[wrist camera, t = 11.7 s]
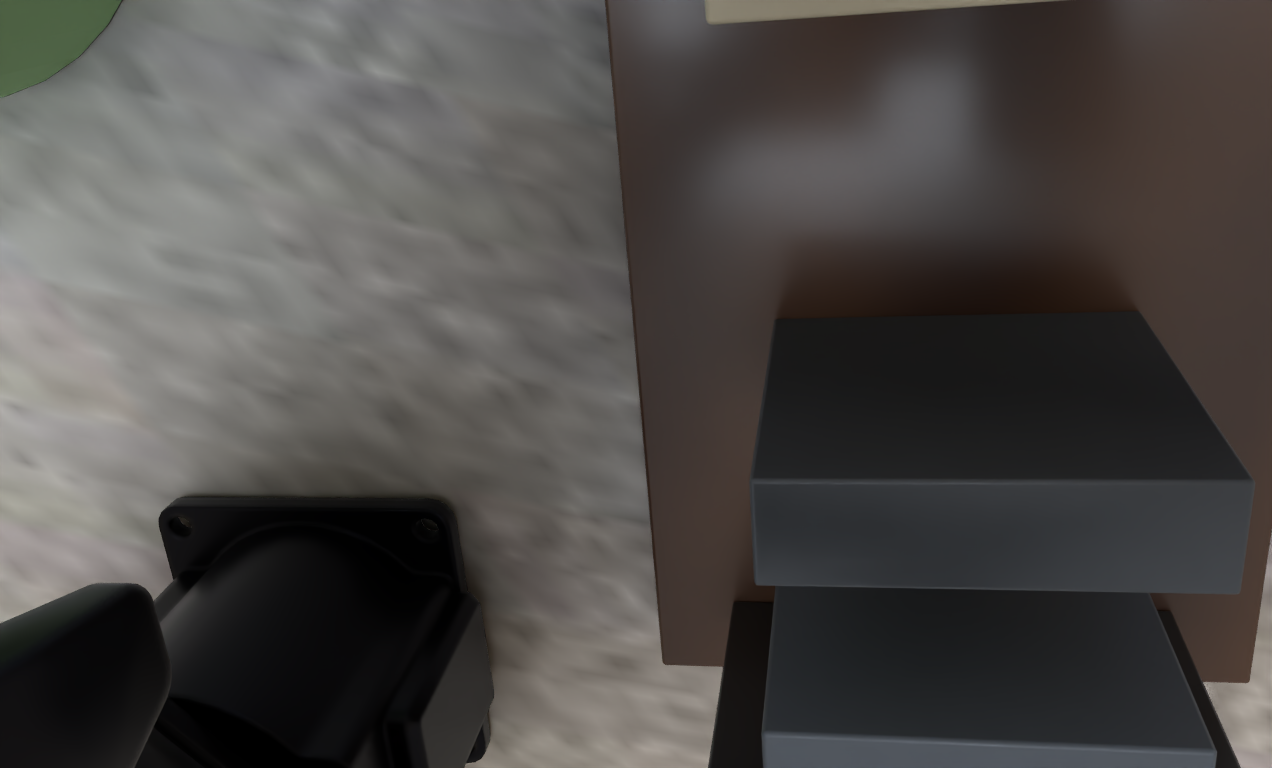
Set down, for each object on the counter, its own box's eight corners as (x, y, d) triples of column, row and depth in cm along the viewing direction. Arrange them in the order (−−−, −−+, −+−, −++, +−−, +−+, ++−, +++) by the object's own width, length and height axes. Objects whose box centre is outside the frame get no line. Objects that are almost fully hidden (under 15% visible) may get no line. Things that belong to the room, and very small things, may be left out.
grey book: (784, 592, 23) (765, 821, 17) (781, 519, 22) (760, 732, 16) (1114, 599, 21) (1206, 845, 16) (1121, 522, 21) (1219, 752, 15)
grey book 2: (777, 401, 21) (753, 587, 16) (773, 317, 20) (748, 479, 15) (1132, 398, 20) (1241, 596, 14) (1140, 309, 19) (1257, 481, 14)
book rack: (670, 631, 25) (619, 853, 19) (573, -525, 17) (442, -718, 11) (1230, 645, 23) (1357, 899, 17) (1409, -652, 15) (1743, -963, 9)
